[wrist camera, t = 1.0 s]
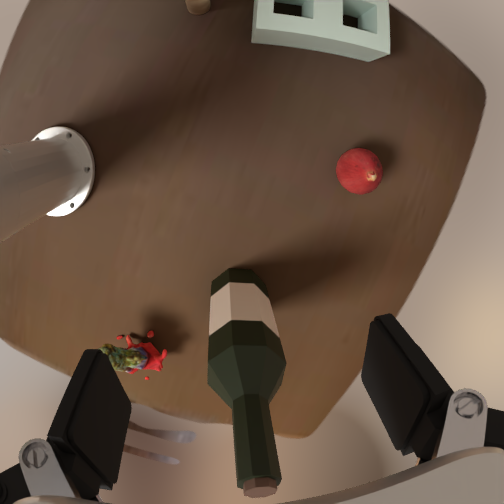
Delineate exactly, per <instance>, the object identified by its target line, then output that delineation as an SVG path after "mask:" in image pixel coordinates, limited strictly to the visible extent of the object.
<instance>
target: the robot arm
mask: <svg viewBox="0 0 504 504" xmlns="http://www.w3.org/2000/svg"><path fill="white" fill-rule="evenodd" d="M71 134H72V137H71ZM88 168H90V170H89V169H88ZM94 177H95V163H94V157H93V154H92V151H91V148H90V146H89V145H88V143H87V141H86V140H85V139H84V138H83V136H82V135H80V134H79V133H78V132H77V131H75V130H73V129H71V128H68V127H63V126H62V127H51V128H48V129H45V130H43V131H42V132H40V133H39V134H37V135H36V136H35V137H34V138H33V139H32V141H27V142H21V143H15V144H9V145H3V146H0V243H1V242H3V241H4V240H6V239H7V238H9V237H11V236H12V235H14V234H15V233H17V232H18V231H20V230H21V229H23V228H25V227H26V226H28V225H29V224H31V223H33V222H34V221H36V220H38V219H39V218H41V217H43V216H44V215H46V214H47V215H50V216H64V215H67V214H70V213H72V212H73V211H75V210H76V209H78V208H79V207H80V206H81V205H82V204H83V203H84V202H85V200H86V199H87V198H88V196H89V194H90V192H91V189H92V186H93V183H94ZM74 204H75V205H74ZM361 378H362V382H363V384H364V386H365V388H366V390H367V392H368V394H369V396H370V398H371V400H372V402H373V404H374V406H375V408H376V410H377V412H378V414H379V416H380V418H381V420H382V422H383V424H384V426H385V428H386V430H387V432H388V434H389V437H390V438H391V441H392V443H393V445H394V447H395V449H396V450H401V452H402V454H403V456H404V455H407V454H410V453H412V452H415V454H416V456H417V457H418V459H417V462H416V465H415V467H412V468H410V469H407V470H405V471H402V472H399V473H396V474H393V475H391V476H388V477H385V478H382V479H379V480H376V481H373V482H369V483H367V484H363V485H360V486H356V487H353V488H349V489H346V490H342V491H338V492H335V493H330V494H327V495H322V496H318V497H312V498H307V499H303V500H297V501H292V502H285V503H279V504H504V411H500V410H496V409H492V408H487V402H486V400H485V398H484V397H483V395H482V394H481V393H479V392H477V391H476V390H472V389H461V390H458V391H456V392H453V390H452V389H451V388H450V386H449V385H448V384H447V382H446V381H445V380H444V378H443V377H442V376H441V374H440V373H439V371H438V370H437V369H436V368H435V366H434V365H433V364H432V362H431V361H430V360H429V359H428V357H427V356H426V355H425V353H424V352H423V351H422V349H421V348H420V347H419V346H418V345H417V344H416V343H415V342H414V341H413V339H412V338H411V337H410V336H409V334H408V333H407V332H406V331H405V330H404V328H403V327H402V326H401V325H400V323H399V322H398V321H397V320H396V318H395V317H394V316H393V315H392V314H390V313H389V314H385V315H380V316H376V317H375V318H374V321H372V322H371V323H370V328H369V334H368V340H367V346H366V352H365V358H364V363H363V368H362V374H361ZM130 414H131V402H130V400H129V398H128V396H127V394H126V393H125V391H124V389H123V387H122V385H121V383H120V381H119V379H118V377H117V375H116V373H115V370H114V368H113V366H112V364H111V362H110V360H109V358H108V356H107V354H106V353H103V352H102V350H100V349H87V350H85V351H84V353H83V355H82V357H81V359H80V361H79V363H78V365H77V367H76V369H75V371H74V374H73V376H72V378H71V380H70V382H69V385H68V387H67V389H66V391H65V394H64V396H63V398H62V400H61V403H60V405H59V407H58V410H57V413H56V415H55V417H54V420H53V422H52V425H51V427H50V430H49V432H48V435H47V436H48V437H47V440H46V441H45V440H43V439H32V440H29V441H28V442H26V443H25V444H24V445H23V446H22V448H21V450H20V452H19V463H18V464H17V465H15V466H13V467H11V468H9V469H7V470H5V471H4V472H2V473H0V504H110V503H104V502H103V501H102V499H101V498H100V496H99V495H98V494H99V488H100V489H107V490H112V487H113V483H114V484H115V483H116V482H117V479H118V473H119V468H120V463H121V457H122V452H123V447H124V442H125V437H126V433H127V428H128V423H129V419H130Z"/></svg>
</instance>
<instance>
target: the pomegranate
mask: <svg viewBox="0 0 504 504" xmlns="http://www.w3.org/2000/svg"><path fill="white" fill-rule="evenodd" d="M336 173H337V178H338V180H339V182H340V183H341V185H342V186H343V187H344V188H345V189H347V190H348V191H349V192H352V193H356V194H360V195H361V194H366V193H370V192H372V191H373V190H375V189H376V188H377V187H378V185H379V184H380V182H381V180H382V176H383V170H382V165H381V163H380V161H379V159H378V157H377V156H376V155H375V154H374V153H372V152H371V151H370V150H367V149H362V148H355V149H350V150H348V151H346V152H345V153H344V154H342V155H341V157H340V159H339V160H338V162H337V167H336Z"/></svg>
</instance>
